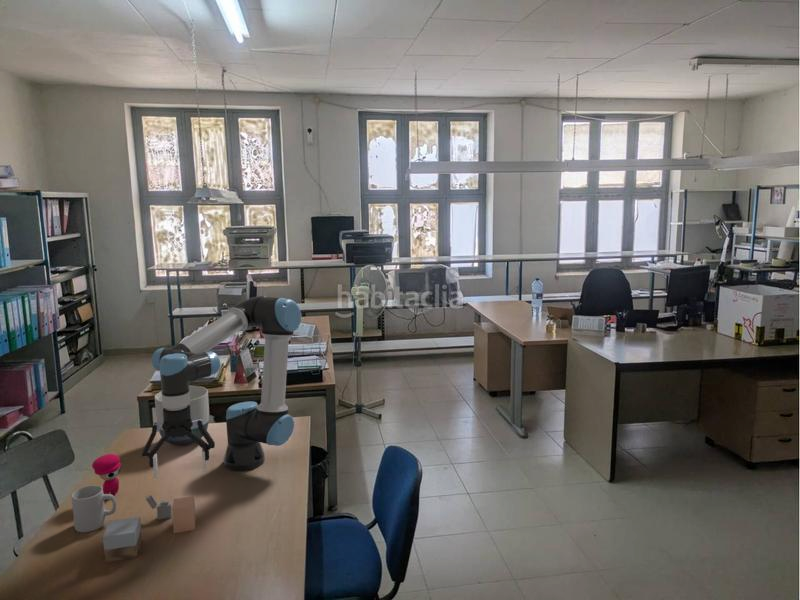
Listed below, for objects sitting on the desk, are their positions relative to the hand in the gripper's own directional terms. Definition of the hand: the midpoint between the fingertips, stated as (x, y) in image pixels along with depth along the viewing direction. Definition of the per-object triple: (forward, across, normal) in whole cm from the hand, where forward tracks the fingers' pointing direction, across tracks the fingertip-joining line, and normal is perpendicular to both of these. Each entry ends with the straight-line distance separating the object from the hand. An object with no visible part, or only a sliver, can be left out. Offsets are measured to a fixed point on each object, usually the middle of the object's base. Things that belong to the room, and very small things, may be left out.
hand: (180, 473), depth 165 cm
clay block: (+18, 0, 0) cm, 18 cm away
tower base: (+18, +16, +8) cm, 25 cm away
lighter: (+18, +8, -8) cm, 21 cm away
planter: (+17, +4, -65) cm, 67 cm away
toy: (+18, +25, -26) cm, 40 cm away
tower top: (+14, +16, +8) cm, 22 cm away
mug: (+18, +26, -10) cm, 33 cm away
